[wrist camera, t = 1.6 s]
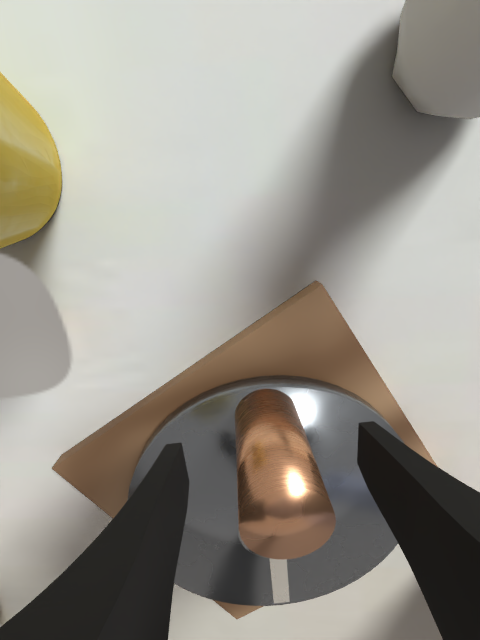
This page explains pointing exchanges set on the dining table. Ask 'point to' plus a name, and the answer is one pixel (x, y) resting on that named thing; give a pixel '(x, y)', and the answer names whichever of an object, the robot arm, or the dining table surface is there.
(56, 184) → the plant pot
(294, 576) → the crank wheel
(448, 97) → the salt shaker
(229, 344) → the base
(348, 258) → the dining table surface
